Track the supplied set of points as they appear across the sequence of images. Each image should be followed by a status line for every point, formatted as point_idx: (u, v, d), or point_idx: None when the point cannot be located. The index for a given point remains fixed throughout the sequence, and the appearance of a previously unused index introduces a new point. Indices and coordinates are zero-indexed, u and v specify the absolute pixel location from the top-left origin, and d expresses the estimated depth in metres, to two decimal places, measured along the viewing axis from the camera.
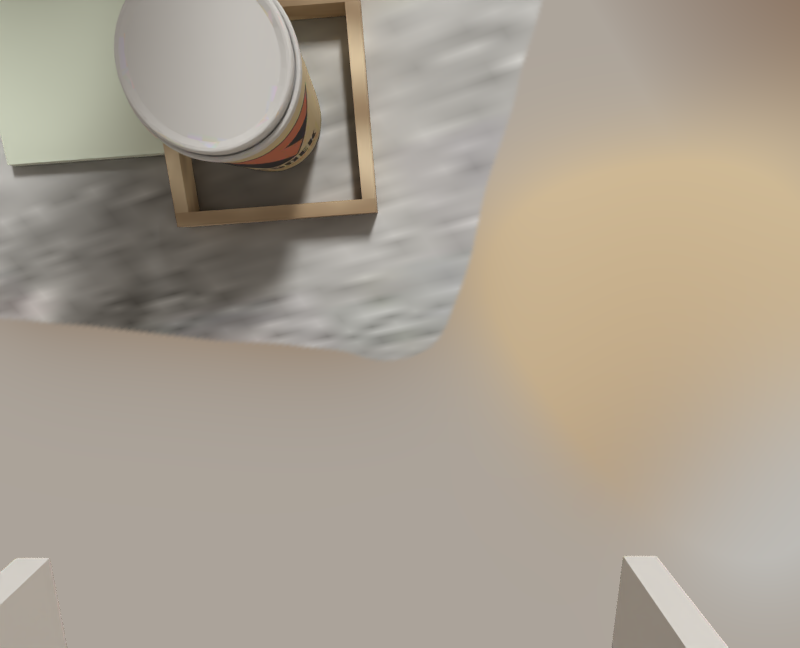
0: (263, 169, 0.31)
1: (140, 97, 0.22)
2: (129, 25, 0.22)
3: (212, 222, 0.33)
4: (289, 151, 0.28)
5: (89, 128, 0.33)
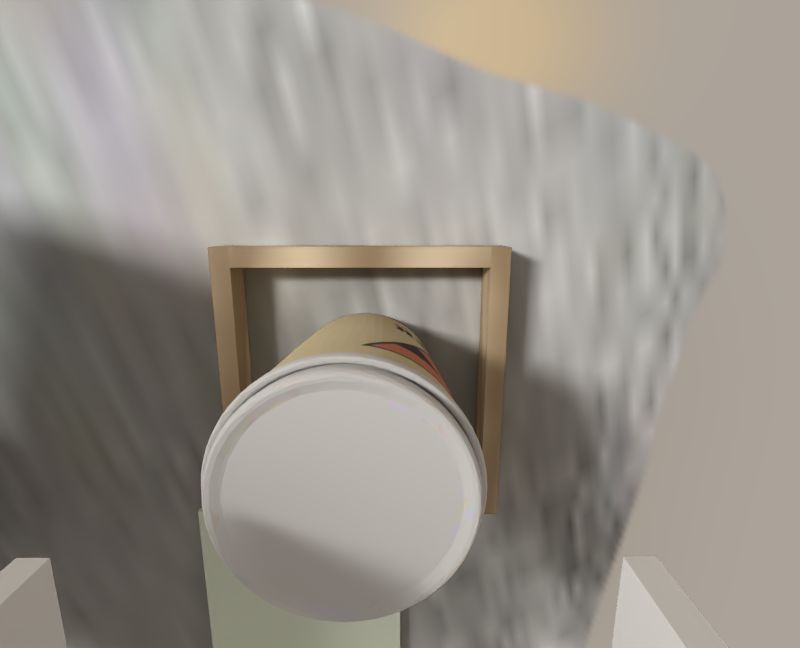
0: None
1: (390, 596, 0.15)
2: (290, 595, 0.15)
3: (497, 471, 0.25)
4: (437, 370, 0.19)
5: None
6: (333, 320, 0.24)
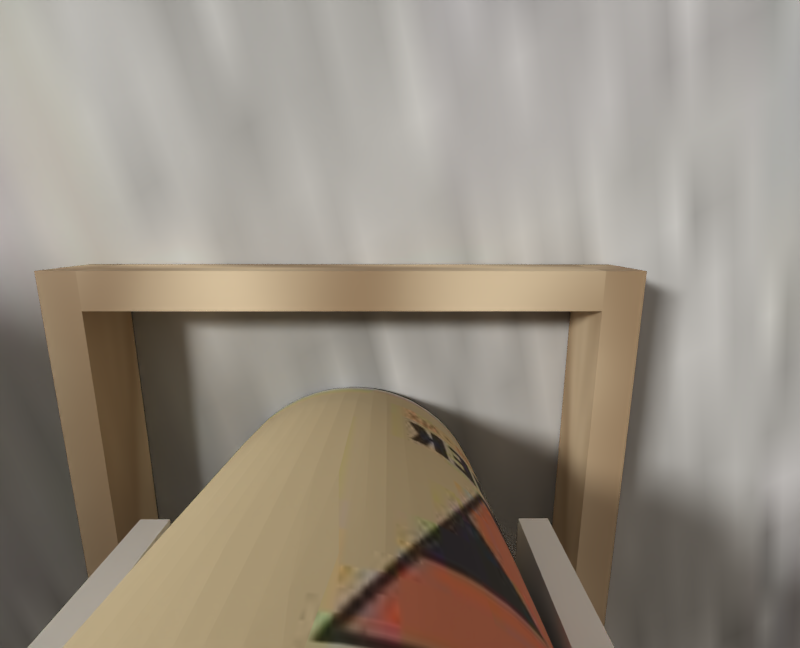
0: None
1: None
2: None
3: None
4: (516, 574, 0.08)
5: None
6: (296, 401, 0.13)
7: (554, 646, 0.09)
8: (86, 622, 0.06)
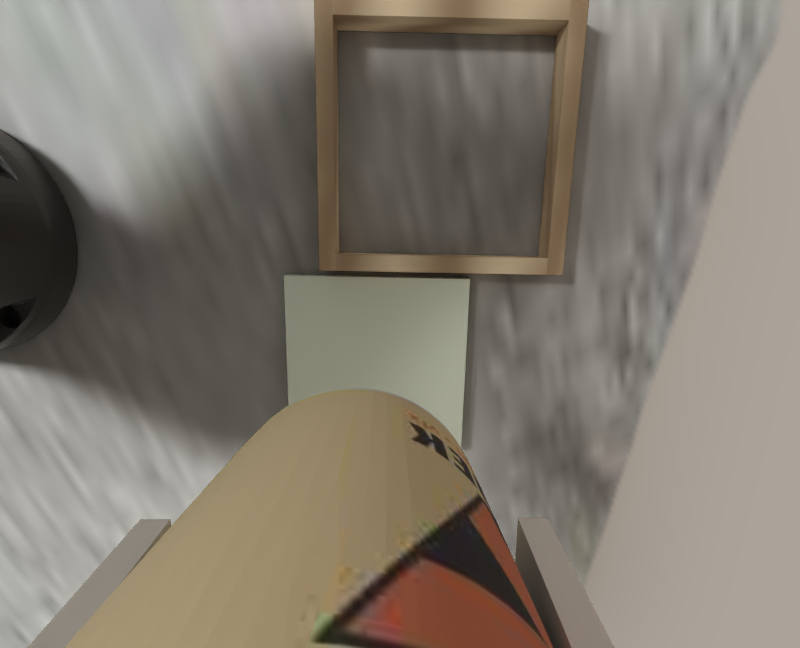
0: None
1: None
2: None
3: (564, 230, 0.27)
4: (517, 575, 0.08)
5: (434, 357, 0.30)
6: (296, 402, 0.13)
7: (554, 646, 0.09)
8: (87, 623, 0.06)
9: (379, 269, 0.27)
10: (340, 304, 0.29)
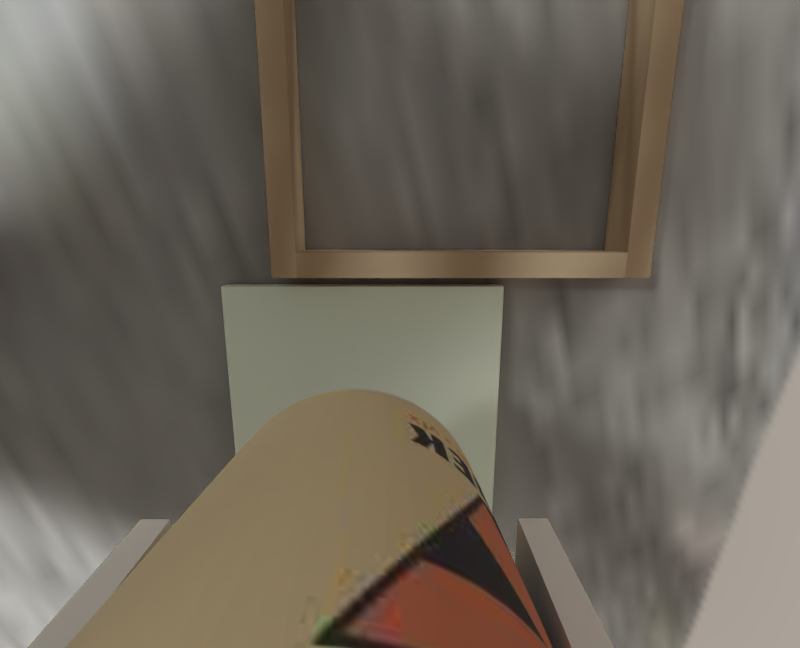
0: None
1: None
2: None
3: (655, 208, 0.17)
4: (517, 576, 0.08)
5: (451, 403, 0.20)
6: (296, 402, 0.13)
7: (554, 646, 0.09)
8: (86, 625, 0.06)
9: (365, 274, 0.17)
10: (308, 328, 0.19)
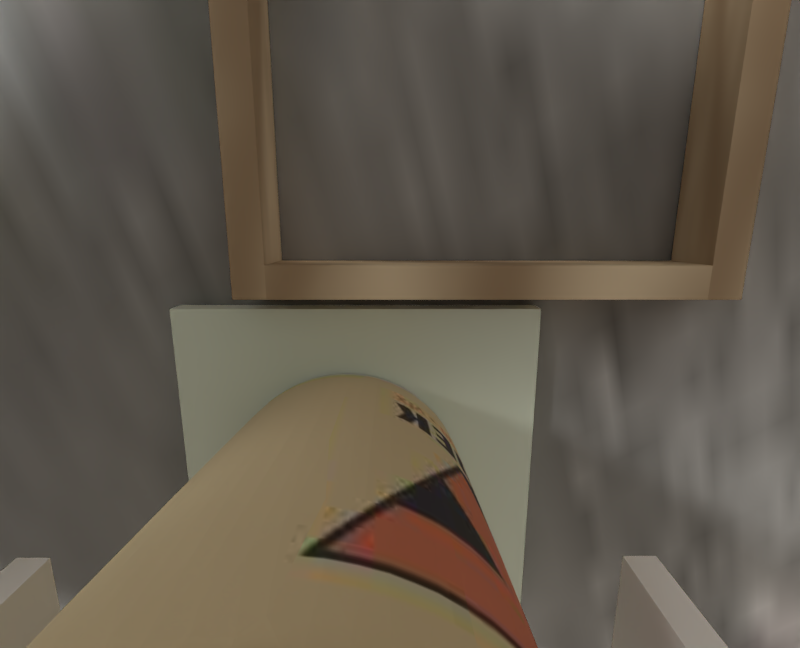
0: None
1: None
2: None
3: (752, 206, 0.12)
4: (485, 530, 0.09)
5: (471, 458, 0.15)
6: (294, 386, 0.14)
7: None
8: (112, 558, 0.07)
9: (359, 295, 0.13)
10: (285, 363, 0.15)
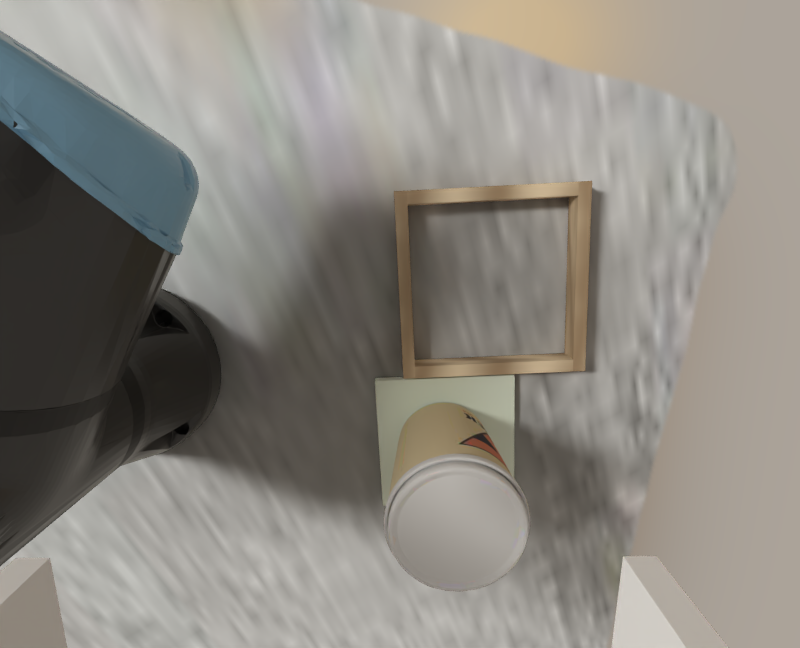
0: None
1: (482, 577, 0.28)
2: (431, 577, 0.28)
3: (584, 339, 0.36)
4: (495, 447, 0.33)
5: (490, 433, 0.39)
6: (422, 407, 0.38)
7: None
8: (407, 453, 0.31)
9: (448, 375, 0.37)
10: (417, 399, 0.38)
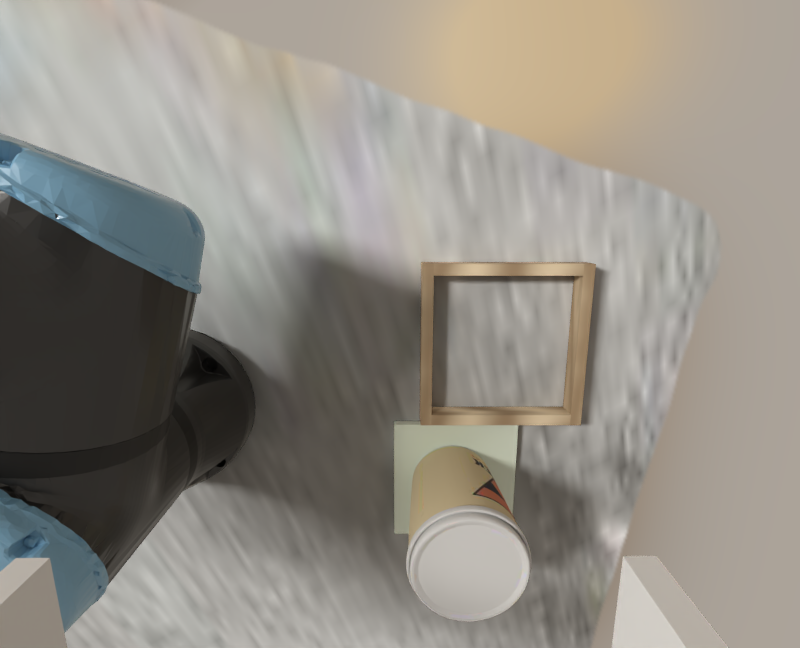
0: None
1: (488, 610, 0.33)
2: (444, 609, 0.33)
3: (581, 398, 0.41)
4: (501, 494, 0.37)
5: (494, 474, 0.44)
6: (435, 450, 0.43)
7: None
8: (425, 498, 0.36)
9: (460, 423, 0.41)
10: (431, 442, 0.43)
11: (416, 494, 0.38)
